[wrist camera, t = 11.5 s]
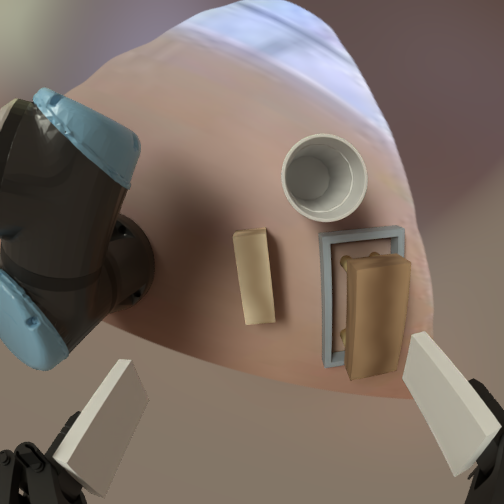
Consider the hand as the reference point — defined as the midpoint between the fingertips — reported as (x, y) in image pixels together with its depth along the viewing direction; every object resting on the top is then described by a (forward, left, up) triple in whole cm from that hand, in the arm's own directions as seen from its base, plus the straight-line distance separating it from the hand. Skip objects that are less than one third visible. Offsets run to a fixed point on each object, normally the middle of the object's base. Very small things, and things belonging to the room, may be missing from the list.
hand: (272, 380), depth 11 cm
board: (+13, -10, -22) cm, 27 cm away
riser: (-2, -4, -27) cm, 27 cm away
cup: (+6, +8, -27) cm, 29 cm away
